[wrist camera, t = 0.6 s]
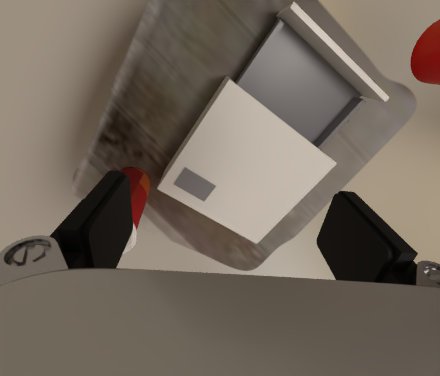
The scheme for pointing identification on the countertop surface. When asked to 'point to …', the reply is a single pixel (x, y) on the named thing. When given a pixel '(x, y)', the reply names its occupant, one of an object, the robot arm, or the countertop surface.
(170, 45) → the countertop surface
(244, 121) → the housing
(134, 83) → the countertop surface
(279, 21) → the drawer
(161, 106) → the countertop surface
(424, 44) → the mug
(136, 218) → the paper cup
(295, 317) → the robot arm
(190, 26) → the countertop surface
